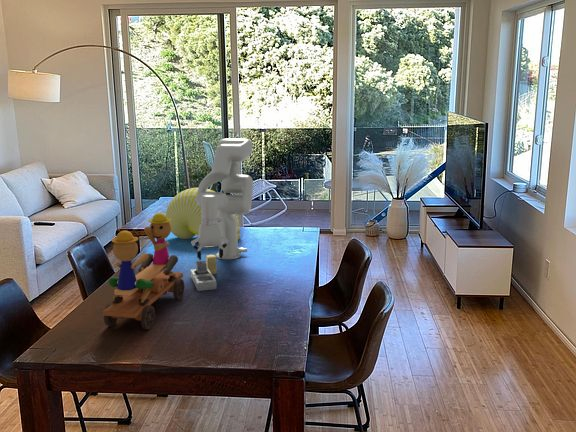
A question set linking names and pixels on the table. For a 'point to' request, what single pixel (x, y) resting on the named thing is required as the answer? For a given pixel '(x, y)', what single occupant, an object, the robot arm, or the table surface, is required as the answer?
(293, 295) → the table surface
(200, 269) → the seated steel block
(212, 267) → the brass block
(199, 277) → the grey block holder tray
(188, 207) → the shell
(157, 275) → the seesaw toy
